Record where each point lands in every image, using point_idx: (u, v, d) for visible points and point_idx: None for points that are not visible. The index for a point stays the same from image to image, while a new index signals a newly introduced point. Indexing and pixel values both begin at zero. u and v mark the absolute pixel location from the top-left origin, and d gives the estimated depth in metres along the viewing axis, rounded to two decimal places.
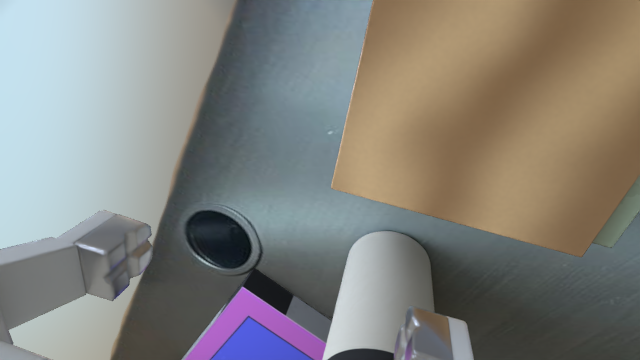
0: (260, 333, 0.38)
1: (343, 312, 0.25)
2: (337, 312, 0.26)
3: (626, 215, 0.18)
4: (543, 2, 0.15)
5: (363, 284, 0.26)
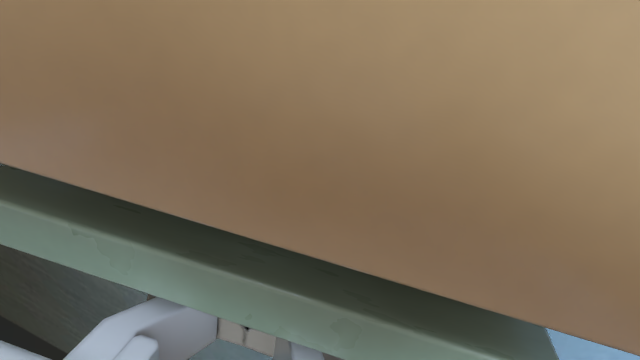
0: None
1: None
2: None
3: (52, 247, 0.07)
4: None
5: None
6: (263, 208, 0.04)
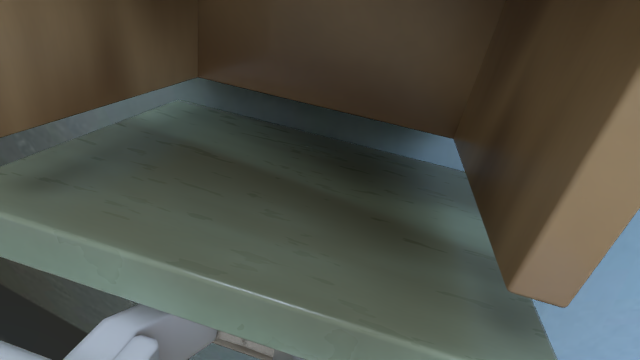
0: None
1: None
2: None
3: (37, 254, 0.06)
4: None
5: None
6: None
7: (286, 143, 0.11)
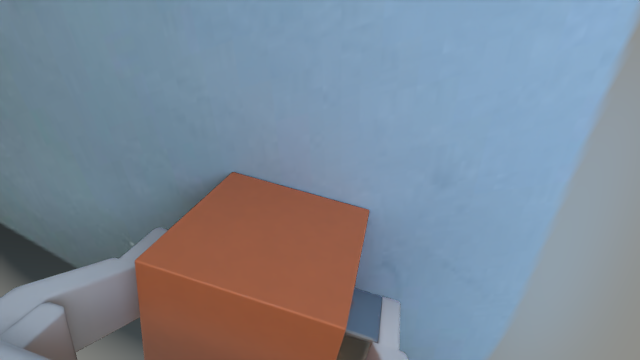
0: None
1: None
2: None
3: None
4: None
5: None
6: None
7: None
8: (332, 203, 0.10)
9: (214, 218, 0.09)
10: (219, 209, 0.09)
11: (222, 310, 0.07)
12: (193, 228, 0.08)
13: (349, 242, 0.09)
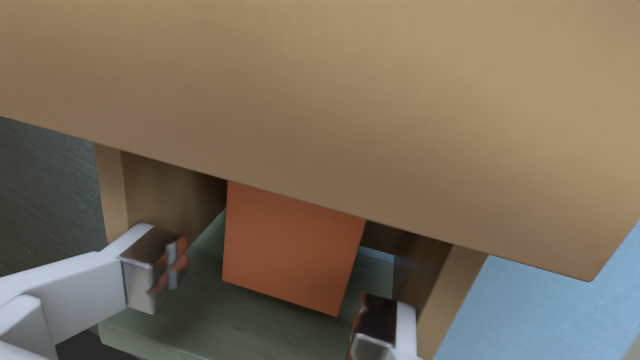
0: None
1: None
2: None
3: (153, 355, 0.12)
4: None
5: None
6: (307, 180, 0.07)
7: None
8: None
9: None
10: None
11: (285, 208, 0.11)
12: None
13: None
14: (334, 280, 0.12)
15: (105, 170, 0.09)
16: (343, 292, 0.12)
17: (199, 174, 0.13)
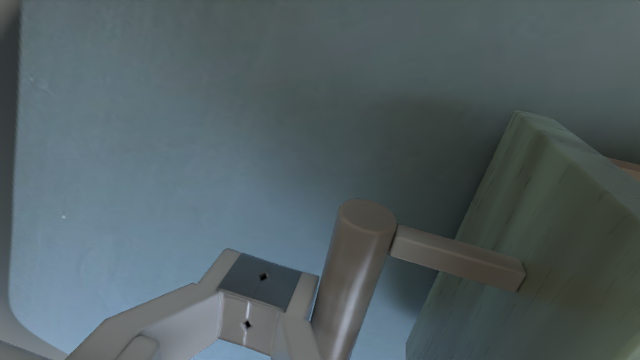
0: None
1: None
2: None
3: None
4: None
5: None
6: None
7: None
8: None
9: None
10: None
11: None
12: None
13: None
14: None
15: None
16: None
17: None
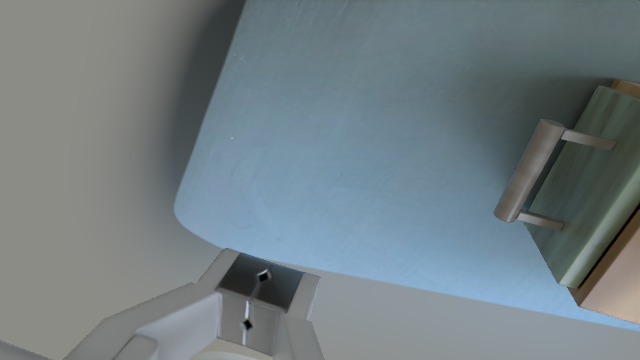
0: None
1: None
2: None
3: None
4: None
5: None
6: None
7: None
8: None
9: None
10: None
11: None
12: None
13: None
14: None
15: None
16: None
17: None
